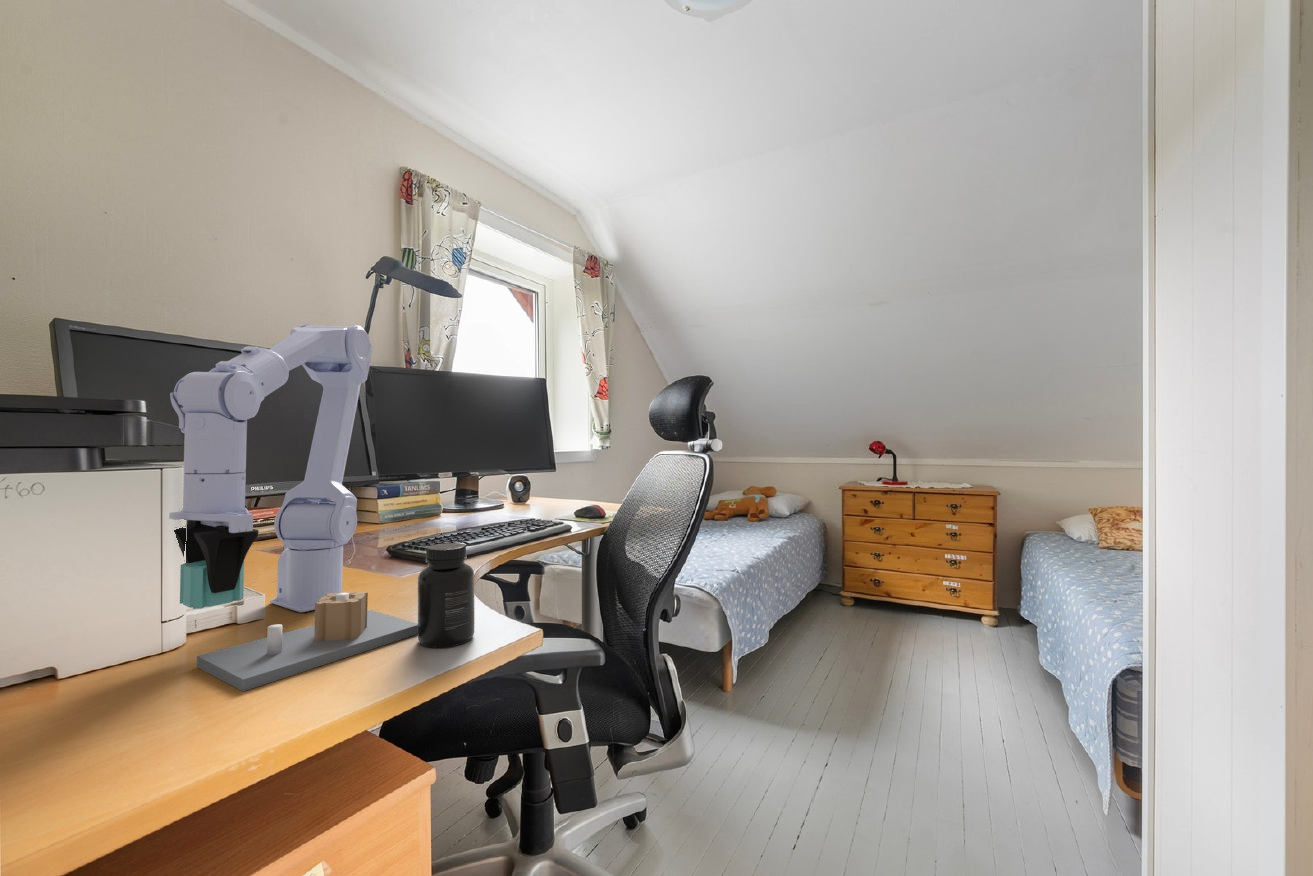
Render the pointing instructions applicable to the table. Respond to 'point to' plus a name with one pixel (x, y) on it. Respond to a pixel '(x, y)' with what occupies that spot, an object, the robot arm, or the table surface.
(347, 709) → the table surface
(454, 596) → the supplement bottle
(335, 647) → the gear board
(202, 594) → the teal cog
